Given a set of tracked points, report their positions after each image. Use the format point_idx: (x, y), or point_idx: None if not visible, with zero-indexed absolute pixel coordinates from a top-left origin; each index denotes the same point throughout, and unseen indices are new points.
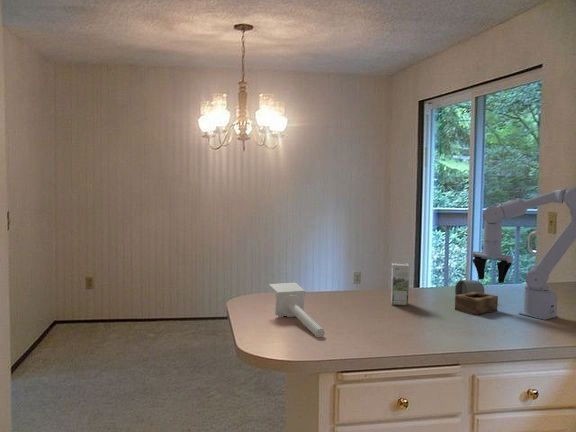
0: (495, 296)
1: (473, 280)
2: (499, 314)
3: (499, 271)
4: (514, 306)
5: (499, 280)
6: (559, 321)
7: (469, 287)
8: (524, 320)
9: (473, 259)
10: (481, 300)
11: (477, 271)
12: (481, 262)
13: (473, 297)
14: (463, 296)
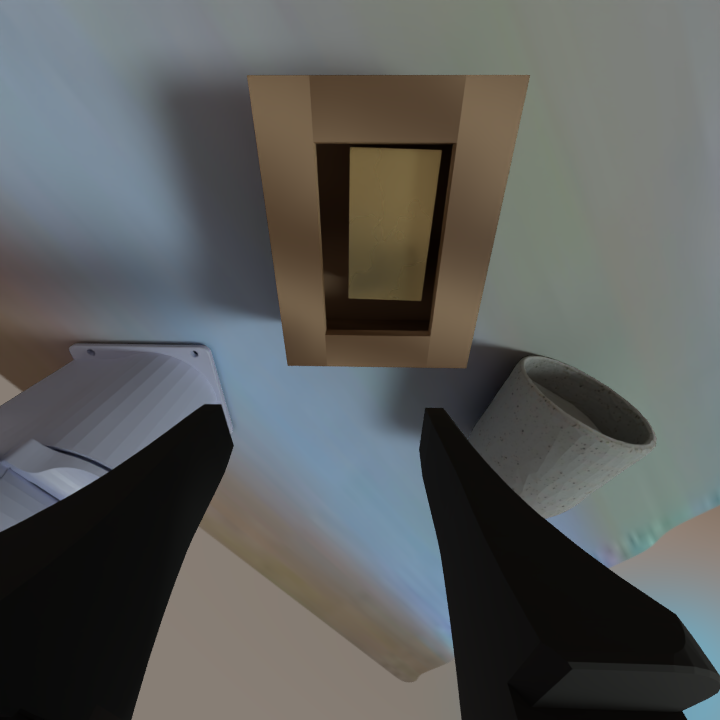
0: (288, 346)
1: (559, 502)
2: (242, 263)
3: (105, 492)
4: (321, 444)
5: (191, 415)
6: (47, 373)
7: (536, 412)
8: (90, 257)
9: (689, 677)
10: (259, 144)
11: (479, 462)
12: (483, 637)
13: (420, 272)
14: (438, 102)
